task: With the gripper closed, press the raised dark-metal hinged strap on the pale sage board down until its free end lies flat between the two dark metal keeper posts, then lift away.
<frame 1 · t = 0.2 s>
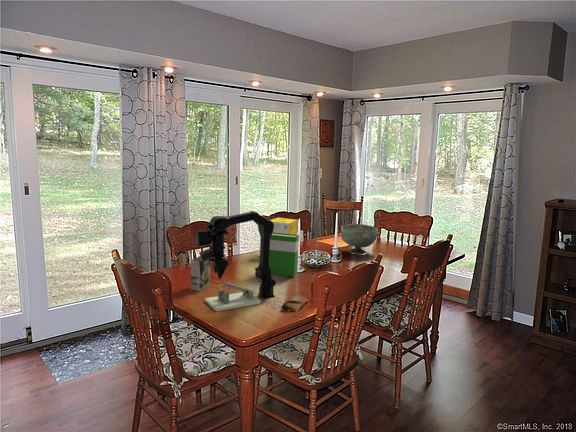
hand: (217, 275, 201), 14 cm above the table, fingers open, 9 cm apart
packaging box: (281, 256, 295), on the table
decorative bowl: (357, 253, 310), on the table
sunglasses case: (296, 306, 206), on the table
coffee box: (200, 288, 224), on the table
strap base: (233, 302, 206), on the table
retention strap: (237, 287, 206), point 7 cm above the table, hinge at 25.0°
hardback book: (281, 274, 254), on the table
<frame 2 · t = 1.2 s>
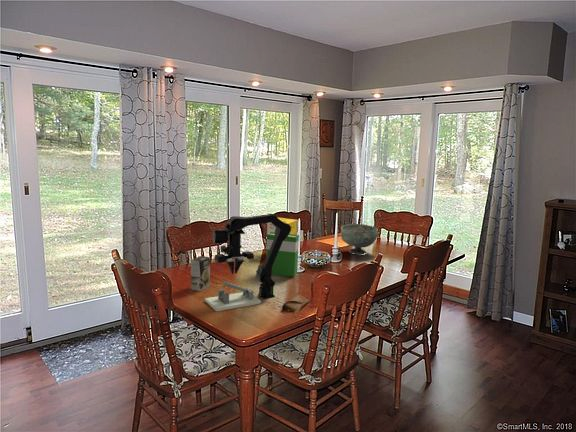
hand: (234, 273, 208), 13 cm above the table, fingers closed
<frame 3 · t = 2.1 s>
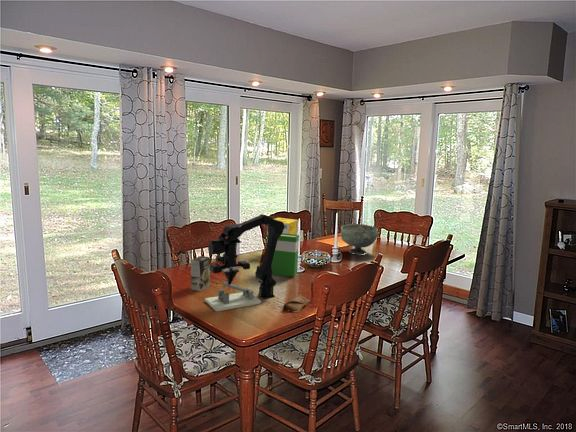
hand: (229, 284, 203), 10 cm above the table, fingers closed
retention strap: (236, 287, 206), point 7 cm above the table, hinge at 23.3°, touching gripper
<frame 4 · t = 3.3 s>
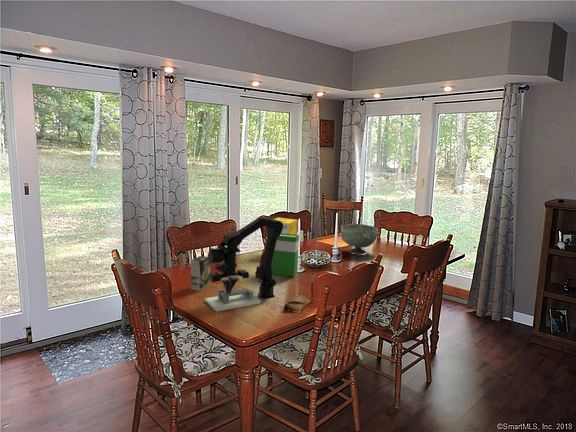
hand: (228, 292, 204), 5 cm above the table, fingers closed, pressing on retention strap
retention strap: (235, 292, 206), point 5 cm above the table, hinge at 1.5°, touching gripper
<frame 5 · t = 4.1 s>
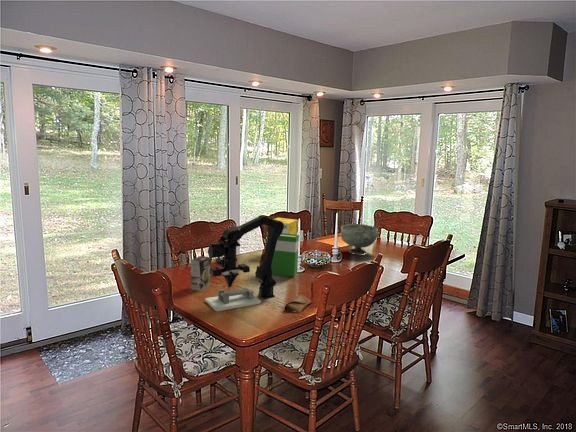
hand: (229, 287, 203), 8 cm above the table, fingers closed
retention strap: (235, 292, 206), point 5 cm above the table, hinge at 1.3°
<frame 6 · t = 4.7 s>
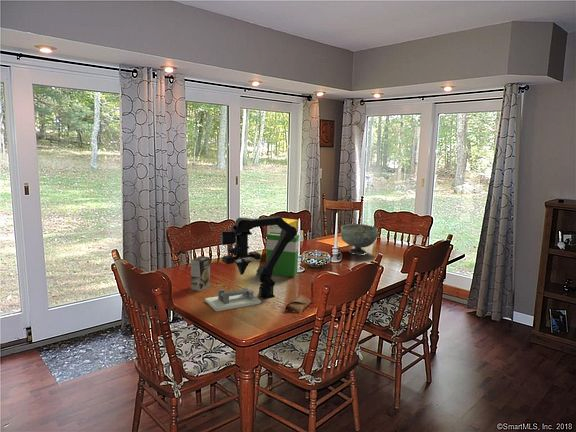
hand: (241, 274, 209), 12 cm above the table, fingers closed
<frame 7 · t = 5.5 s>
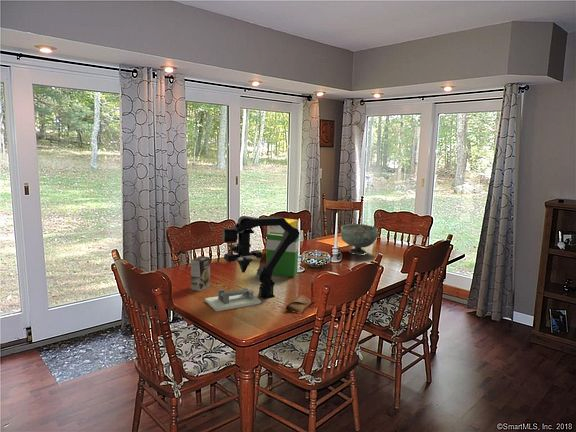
hand: (243, 272, 211), 13 cm above the table, fingers closed
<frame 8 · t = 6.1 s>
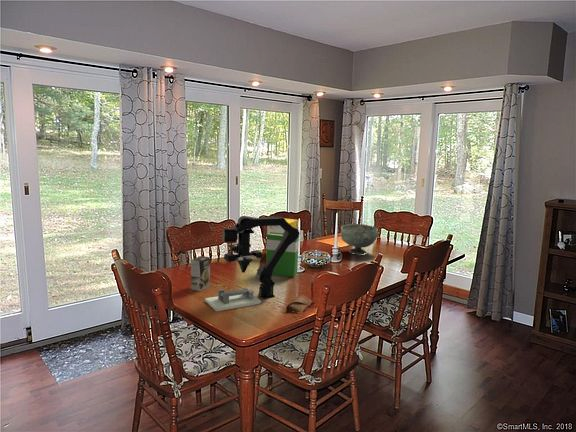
hand: (243, 272, 211), 13 cm above the table, fingers closed
at the end: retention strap at +1° (first picture: +25°); coffee box moved 0.2 cm from its start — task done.
